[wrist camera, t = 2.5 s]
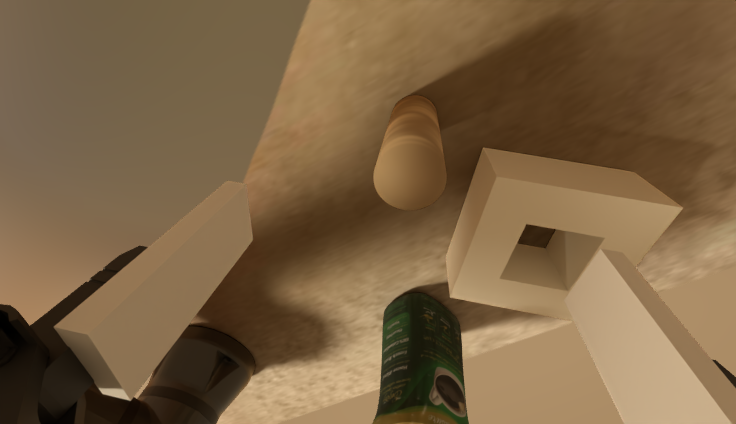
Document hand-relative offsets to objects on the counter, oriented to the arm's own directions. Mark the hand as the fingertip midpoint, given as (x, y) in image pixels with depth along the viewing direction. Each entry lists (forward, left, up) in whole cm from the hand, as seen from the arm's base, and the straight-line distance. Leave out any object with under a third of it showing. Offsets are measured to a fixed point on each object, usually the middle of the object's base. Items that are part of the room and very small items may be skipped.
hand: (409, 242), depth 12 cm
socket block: (+13, -8, -18) cm, 23 cm away
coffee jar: (+6, -25, -18) cm, 32 cm away
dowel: (0, 0, -18) cm, 18 cm away
